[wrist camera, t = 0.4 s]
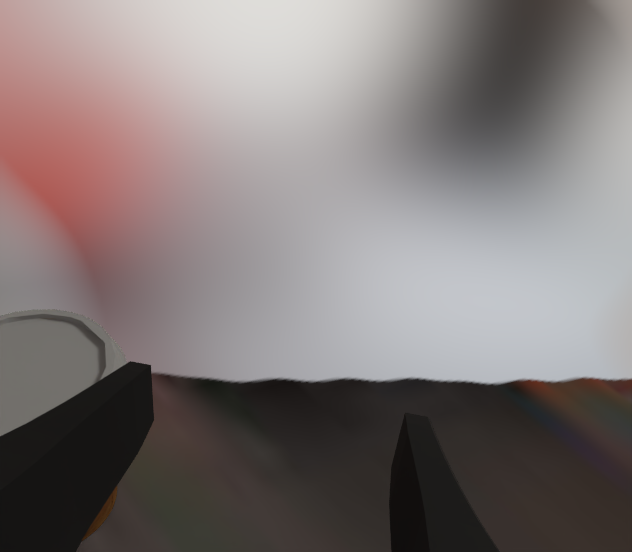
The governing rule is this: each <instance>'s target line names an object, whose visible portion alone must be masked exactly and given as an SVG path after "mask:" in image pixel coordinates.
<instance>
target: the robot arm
mask: <svg viewBox="0 0 632 552" xmlns="http://www.w3.org/2000/svg"><path fill="white" fill-rule="evenodd" d="M153 421H154V413H153V396H152V378H151V365H147V364H142V363H136V362H129V363H127V364H125V365H123V366H122V367H120V368H119V369H117V370H115V371H114V372H112V373H111V374H109V375H107V376H106V377H104V378H103V379H101V380H99V381H98V382H96V383H95V384H93V385H92V386H90V387H88V388H87V389H85V390H83V391H82V392H80V393H78V394H77V395H75V396H74V397H72V398H70V399H69V400H67V401H65V402H64V403H62V404H60V405H58V406H56V407H55V408H53V409H51V410H49V411H47V412H46V413H44V414H42V415H40V416H38V417H37V418H35V419H33V420H31V421H30V422H28V423H26V424H24V425H22V426H20V427H18V428H16V429H14V430H12V431H10V432H8V433H6V434H4V435H1V436H0V552H76V550H77V548H78V547H79V545H80V543H81V541H82V539H83V537H84V536H85V534H86V532H87V531H88V529H89V527H90V526H91V524H92V523H93V521H94V520H95V518H96V517H97V515H98V513H99V512H100V510H101V509H102V507H103V506H104V504H105V503H106V501H107V500H108V498H109V497H110V495H111V494H112V492H113V491H114V489H115V488H116V486H117V485H118V483H119V482H120V480H121V478H122V477H123V475H124V474H125V472H126V471H127V469H128V468H129V466H130V465H131V463H132V461H133V460H134V458H135V457H136V455H137V454H138V452H139V450H140V448H141V446H142V444H143V442H144V440H145V438H146V436H147V434H148V432H149V429H150V427H151V425H152V423H153ZM389 508H390V530H391V550H392V552H500V551H499V550H498V548H497V547H496V545H495V544H494V542H493V541H492V539H491V538H490V536H489V535H488V533H487V532H486V530H485V528H484V527H483V525H482V524H481V522H480V520H479V519H478V517H477V515H476V514H475V512H474V510H473V509H472V507H471V505H470V503H469V502H468V500H467V498H466V496H465V494H464V493H463V491H462V489H461V487H460V485H459V483H458V481H457V479H456V477H455V475H454V473H453V471H452V469H451V467H450V465H449V463H448V461H447V459H446V457H445V455H444V452H443V450H442V448H441V446H440V443H439V441H438V438H437V436H436V434H435V431H434V428H433V426H432V423H431V421H430V419H429V418H428V417H425V416H420V415H414V414H409V413H405V415H404V419H403V423H402V427H401V431H400V435H399V439H398V443H397V447H396V451H395V455H394V459H393V463H392V467H391V483H390V500H389Z"/></svg>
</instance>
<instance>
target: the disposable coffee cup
mask: <svg viewBox="0 0 632 552" xmlns="http://www.w3.org/2000/svg"><path fill="white" fill-rule="evenodd" d="M125 364H127V362H126V359H125V355H124V353H123V352H122V350H121V348H120V347H119V345H118V344H117V343H116V342H115V341H114V340H113V339H112V338H111V337H110V336H109V335H108V333H106V331H105V330H104V329H103V327H101V326H100V325H99V324H97V323H96V322H95V321H93V320H91V319H89V318H87V317H85V316H83V315H79V314H76V313H72V312H67V311H60V310H28V311H21V312H14V313H10V314H6V315H2V316H0V436H1V435H4V434H6V433H8V432H10V431H12V430H14V429H16V428H18V427H20V426H22V425H24V424H26V423H28V422H30V421H31V420H33V419H35V418H37V417H38V416H40V415H42V414H44V413H46V412H47V411H49V410H51V409H53V408H55V407H56V406H58V405H60V404H62V403H64V402H65V401H67V400H69V399H70V398H72V397H74V396H75V395H77V394H78V393H80V392H82V391H83V390H85V389H87V388H88V387H90V386H92V385H93V384H95V383H96V382H98V381H99V380H101V379H103V378H104V377H106V376H107V375H109V374H111V373H112V372H114V371H115V370H117V369H119V368H120V367H122V366H123V365H125ZM116 496H117V486H116V488H115V489H114V491H113V492H112V494H111V495H110V497H109V498H108V500H107V501H106V503H105V504H104V506H103V507H102V509H101V510H100V512H99V513H98V515H97V517H96V518H95V520H94V521H93V523H92V524H91V526H90V527H89V529H88V531H87V532H86V534H85V536H84V537H83V539H82V540H84V539H86V538H87V537H88V536H90V535H91V534H92V533H93V532H95V531H96V530H97V529H98V528H99V527H100V526H101V525H102V523H103V522H104V521H105V520H106V518H107V517H108V515H109V514H110V512H111V510H112V508H113V506H114V503H115V499H116Z"/></svg>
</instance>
